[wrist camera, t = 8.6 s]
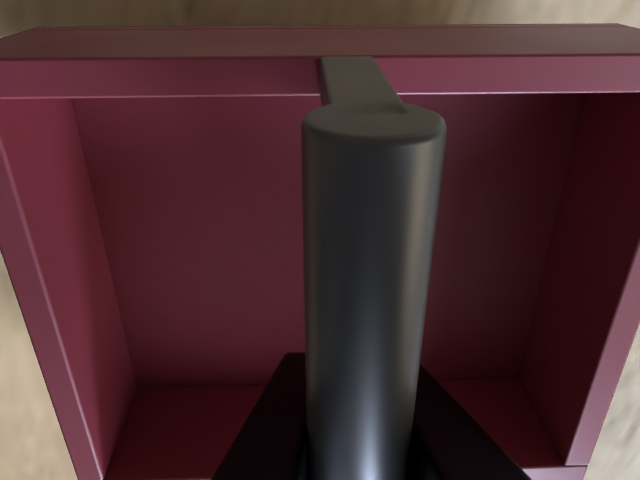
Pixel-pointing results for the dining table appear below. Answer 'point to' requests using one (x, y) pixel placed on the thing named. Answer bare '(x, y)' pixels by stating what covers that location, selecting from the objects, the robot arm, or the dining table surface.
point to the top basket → (323, 234)
